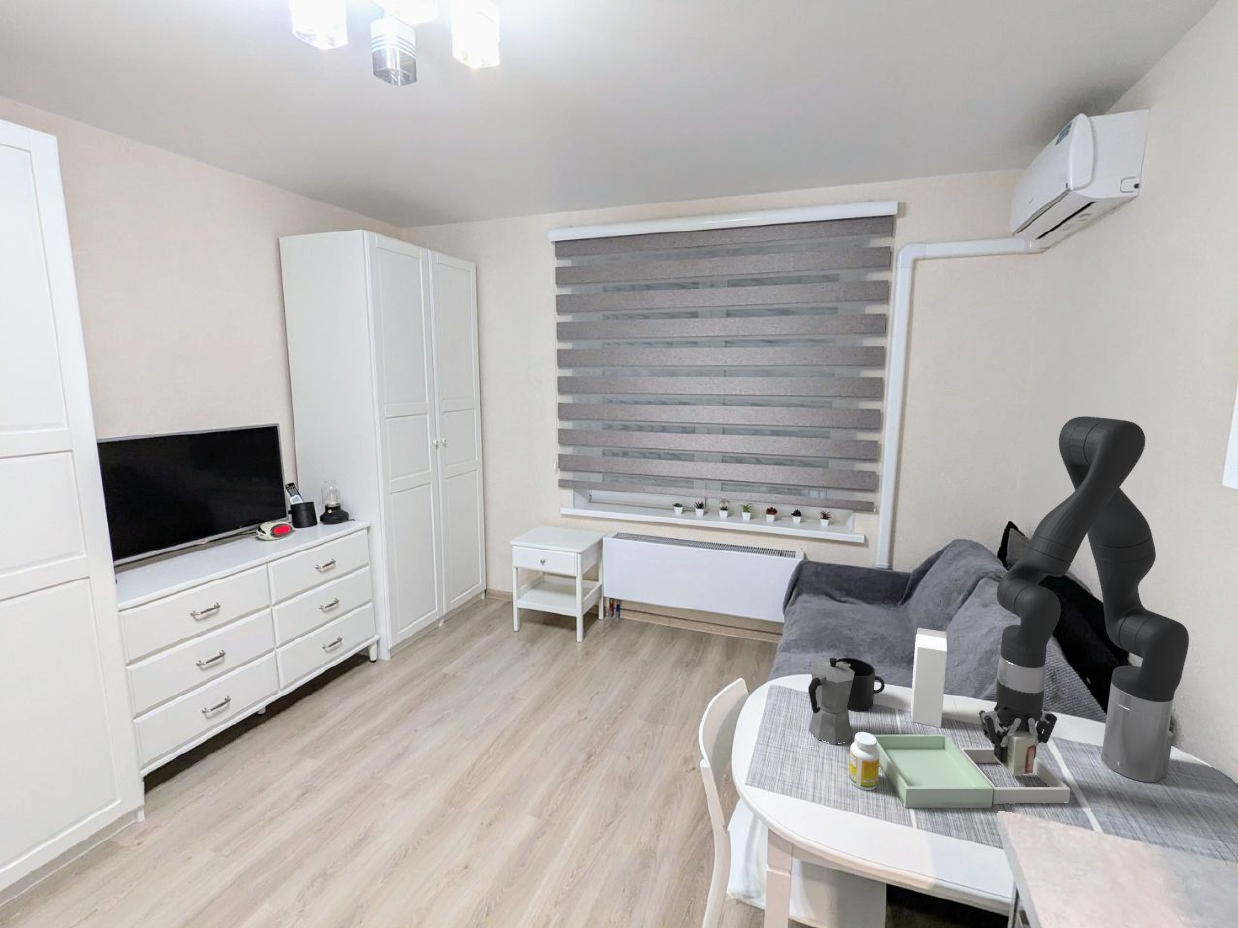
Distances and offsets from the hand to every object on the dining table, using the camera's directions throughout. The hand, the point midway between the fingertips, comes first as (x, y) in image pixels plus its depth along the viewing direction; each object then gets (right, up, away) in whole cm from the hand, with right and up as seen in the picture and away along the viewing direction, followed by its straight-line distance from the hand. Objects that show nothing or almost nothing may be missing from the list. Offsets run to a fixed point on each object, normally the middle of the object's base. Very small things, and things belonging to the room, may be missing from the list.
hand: (1013, 759), depth 113 cm
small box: (0, -2, 0) cm, 2 cm away
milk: (-6, -1, +21) cm, 22 cm away
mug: (-19, 0, +29) cm, 34 cm away
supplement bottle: (-29, -5, +1) cm, 30 cm away
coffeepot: (-31, -3, +16) cm, 35 cm away
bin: (-16, -5, +2) cm, 17 cm away
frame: (0, -5, +1) cm, 5 cm away
